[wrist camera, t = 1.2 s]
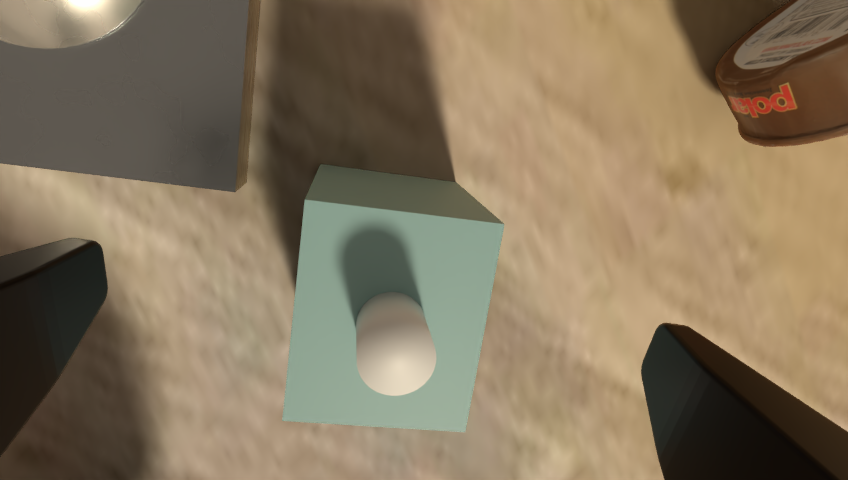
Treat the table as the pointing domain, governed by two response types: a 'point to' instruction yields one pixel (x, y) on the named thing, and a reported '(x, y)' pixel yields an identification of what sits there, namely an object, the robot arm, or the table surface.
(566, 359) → the table surface
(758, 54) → the tin
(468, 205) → the block
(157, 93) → the press bed
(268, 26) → the table surface
